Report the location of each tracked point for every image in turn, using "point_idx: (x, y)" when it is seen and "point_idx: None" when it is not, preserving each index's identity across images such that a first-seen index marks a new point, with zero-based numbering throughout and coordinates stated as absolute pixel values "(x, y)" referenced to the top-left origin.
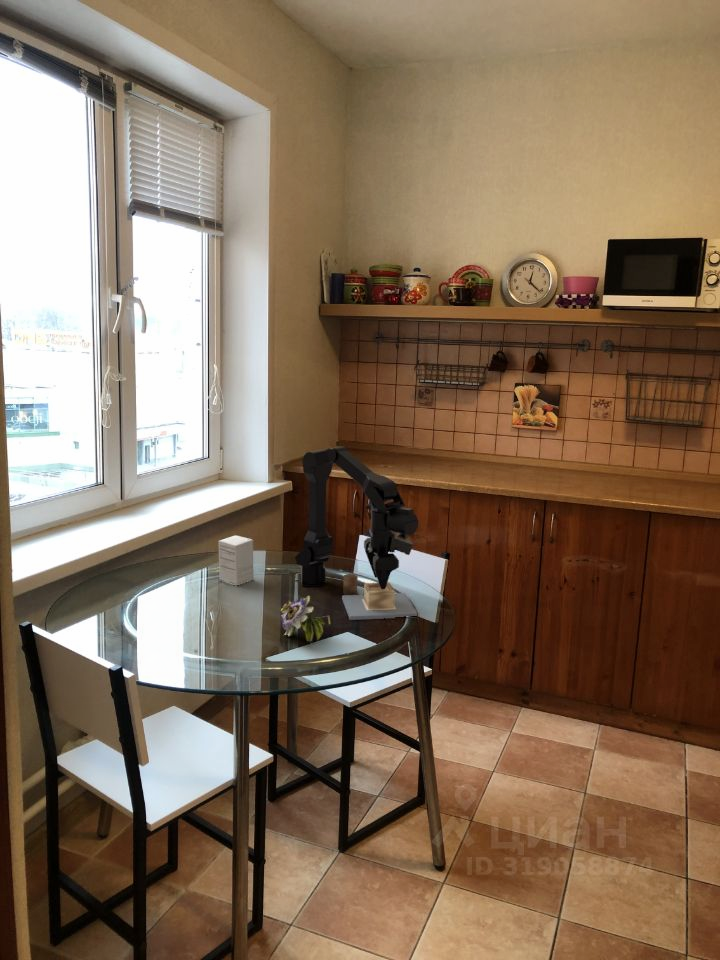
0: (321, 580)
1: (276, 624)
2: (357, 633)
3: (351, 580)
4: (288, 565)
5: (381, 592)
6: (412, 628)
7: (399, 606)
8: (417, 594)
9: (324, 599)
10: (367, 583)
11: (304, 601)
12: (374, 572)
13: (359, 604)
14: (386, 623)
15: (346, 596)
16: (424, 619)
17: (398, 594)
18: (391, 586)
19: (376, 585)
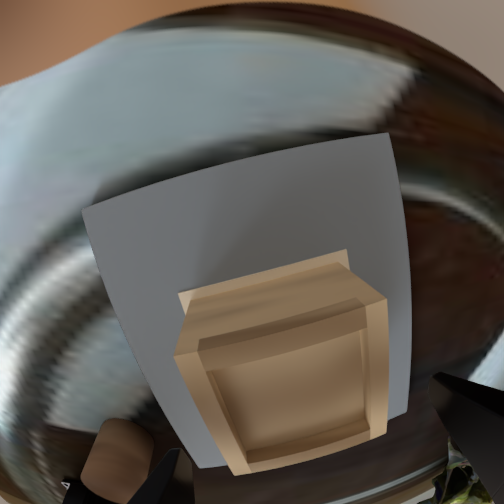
0: (98, 496)
1: (391, 499)
2: (483, 352)
3: (139, 484)
4: (36, 501)
5: (387, 378)
6: (474, 173)
7: (302, 231)
8: (55, 145)
9: (219, 488)
10: (238, 466)
11: (476, 500)
12: (192, 496)
13: None
14: (442, 278)
15: (205, 458)
16: (395, 105)
17: (107, 247)
18: (277, 336)
19: (231, 422)
